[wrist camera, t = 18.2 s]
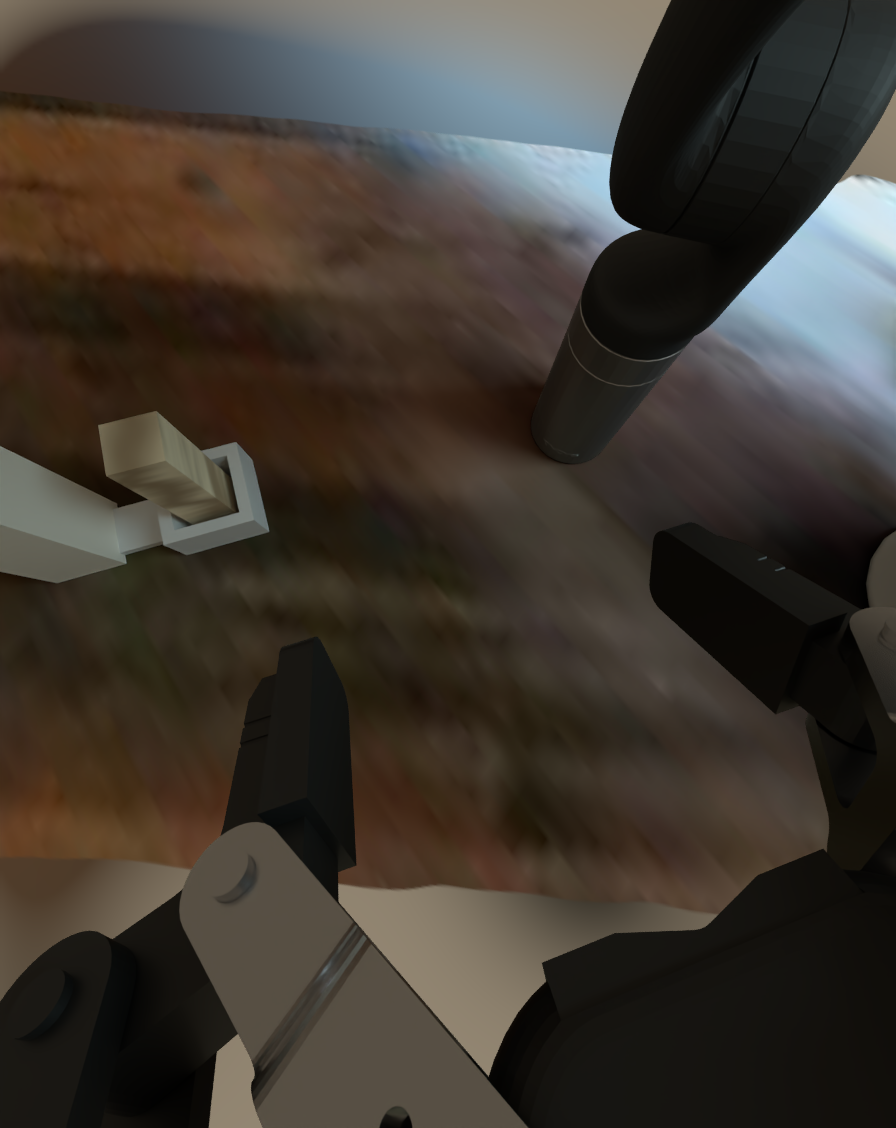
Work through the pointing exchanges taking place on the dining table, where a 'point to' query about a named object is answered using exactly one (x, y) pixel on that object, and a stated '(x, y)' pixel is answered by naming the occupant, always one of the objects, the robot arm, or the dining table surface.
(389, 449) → the dining table surface
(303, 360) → the dining table surface
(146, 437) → the block
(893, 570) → the candelabra
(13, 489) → the post
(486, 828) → the dining table surface
